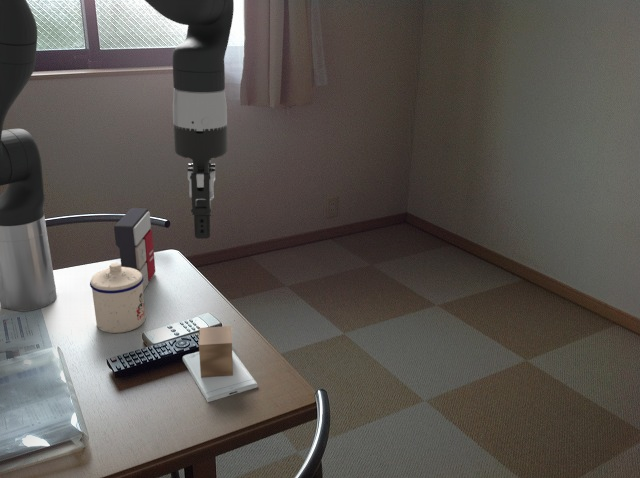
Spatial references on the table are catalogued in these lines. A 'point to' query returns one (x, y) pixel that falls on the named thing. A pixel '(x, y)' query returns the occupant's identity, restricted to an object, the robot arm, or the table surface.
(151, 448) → the table surface
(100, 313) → the teacup with lid
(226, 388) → the hard drive
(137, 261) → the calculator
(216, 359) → the tan block
